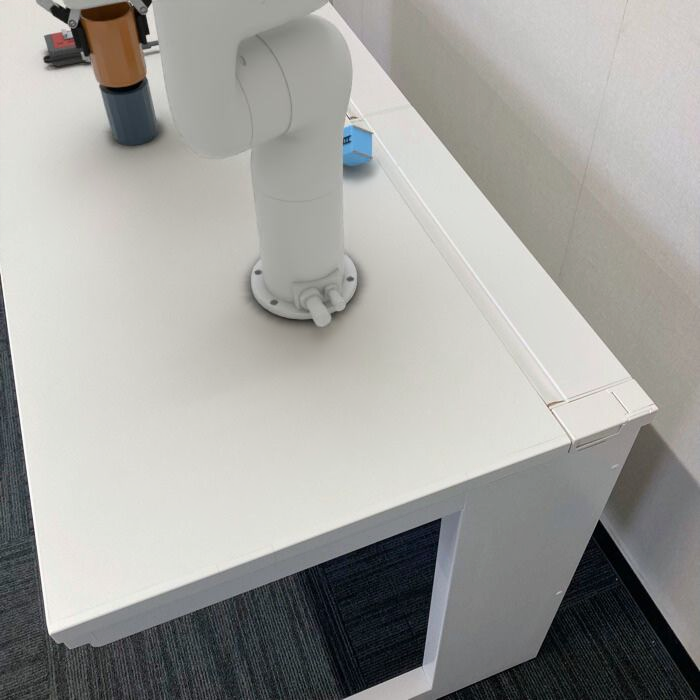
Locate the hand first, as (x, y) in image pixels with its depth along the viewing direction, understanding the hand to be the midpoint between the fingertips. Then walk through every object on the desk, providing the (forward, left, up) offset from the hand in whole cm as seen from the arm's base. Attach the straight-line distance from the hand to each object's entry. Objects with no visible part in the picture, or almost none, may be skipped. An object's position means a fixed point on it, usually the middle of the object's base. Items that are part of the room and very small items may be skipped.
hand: (114, 45), depth 103 cm
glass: (0, 0, -4) cm, 4 cm away
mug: (+1, 0, -13) cm, 13 cm away
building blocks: (-17, -23, -14) cm, 32 cm away
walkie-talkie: (+26, -1, -14) cm, 29 cm away
